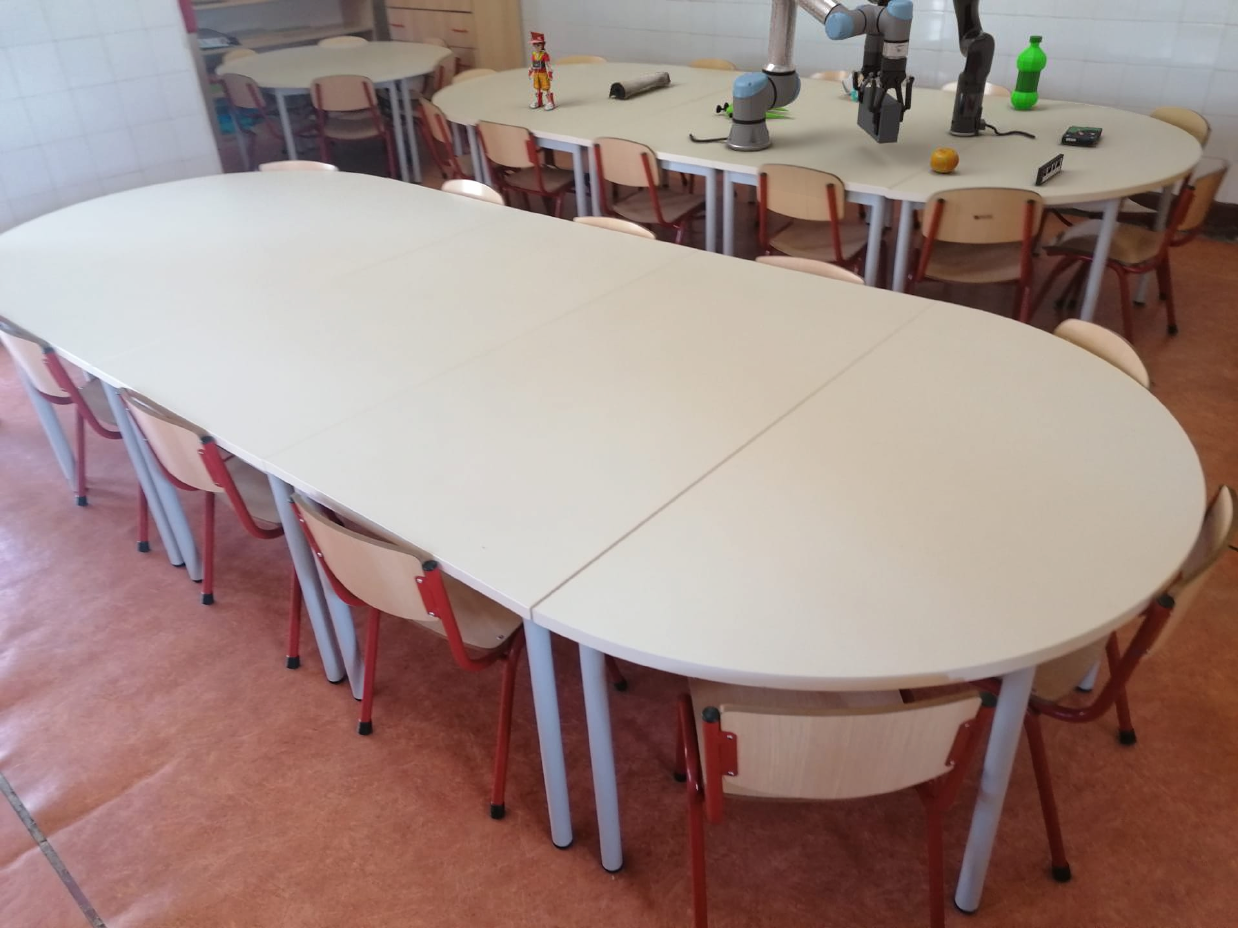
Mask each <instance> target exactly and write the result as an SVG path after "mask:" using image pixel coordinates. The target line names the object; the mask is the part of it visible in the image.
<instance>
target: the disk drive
mask: <svg viewBox="0 0 1238 928" xmlns="http://www.w3.org/2000/svg"><path fill="white" fill-rule="evenodd" d="M1102 132H1103V127H1094V126H1092V127H1091V126H1076V125H1071V126H1069V127H1068V129H1067V130H1066V131H1065V132H1064V134H1063V135H1062V136H1061V142H1060V144H1063V145H1072V146H1080V147H1081V146H1082V147H1094V146H1095V145H1096V143H1097V142H1098V141H1099V139H1100V137H1101V136H1102Z"/></svg>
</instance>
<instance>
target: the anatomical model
mask: <svg viewBox="0 0 1238 928" xmlns="http://www.w3.org/2000/svg"><path fill="white" fill-rule="evenodd" d="M861 81H862V80H858V86H860V84H861ZM841 84H842V88H843V89H844V92H845V93H846V94H849V95H851V97H852V99H853V100H854V101H855V102H858V100H857V99H858V91H856V90H854V89H853V78H852V72H850V73H849V75H848V77H845V78H842V79H841ZM866 87H870V86H869V85H867V86H866Z"/></svg>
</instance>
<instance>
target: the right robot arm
mask: <svg viewBox="0 0 1238 928" xmlns="http://www.w3.org/2000/svg"><path fill="white" fill-rule="evenodd" d="M890 1H892V0H867V2H868V3H870V4H871V5H876V6H884V7H888V3H889V2H890ZM980 2H981V1H980V0H952V5H953V9H954V14H955V18H956V24H957V34H958V46H959V51H960V53H961V55H962V56H963V57H964V58H965V63H964V68H963V70H962V71H961V72H960V73H959V74H958V78H957V83H956V91H955V96H954V104H953V110H952V115H951V120H950V122H951V123H950V129H949V134H950V135H952V136H956V137H973V136H979V131H986V128H989V129H991V130H993V132H994V134H995V135H997V136H1000V137H1003V136H1010V135H1014V134H1015V135H1022V136H1026V137H1028V138H1031V139H1036V135H1034V134H1032V133H1029V132H1027V131H1026V132H1025V131H1021V130H1011V131H1006V132H999V131H998V130H997V128H996V127H995V126H994V125H992V124H988V123H987V122H986V120H985V118H982V115H983V109H984V107H983V102H984V96H985V90H986V83H987V79H988V77H989V75H990V73H991V69H992V65H993V61H994V55H995V49H996V41H995V38H994V36H993V34H991V33H988V32H987V31H984V29H983V27H982V23H981V19H980V11H979V9H980V8H979V7H980ZM884 36H885V34H880V33H867V34H865V39H864V45H863V57H862V67H861V69H859V70H853V71H852V72H851V73H852V78H853V89H854V90H856V91H858V99H857V100H858V101H857V102H858V104H859V103H860V104H862V103H863V94H864V92H863V91H864V89H865V87H866V86H868V85H869V84H870V79H871V78H876V77H879V74H880V72H881V64H882V58H883V57H884V56H883V46H884ZM861 75H862V79H861V80H860V81H861V82H860V84H859V85H858V81H859V78H860V77H861ZM881 86H882V83H881V82H880V81H879V82H878V87H880V88H881Z"/></svg>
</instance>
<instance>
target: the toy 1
mask: <svg viewBox="0 0 1238 928" xmlns="http://www.w3.org/2000/svg"><path fill="white" fill-rule="evenodd" d="M529 33H530V35H531V36H528V37H527V38H528V39H529V40H528V41H527V43H529V44H530V43H531V44H532V48H533V50H534V51H533V52H532V55H531V58H530V59H531V63H530V66H528V74H527V75H528V76H527V77H528V79H529V80H531V75H532V74H533V84H532V85H533V86H532V87H533V88H534V89H535V90H536V92H534V95H535V97H536V100H535V101H533V102H531V105H530V108H531V109H535V108H538V107H542V106H544V101H543V100H544V99H543V95H544V92H546V94H545V97H546V99H547V103H546V104H545V106H544V110H546V111H549V110H553V109H554V107H555V106H556V105H555V99H554V92H551V91H550V90H551V86H552V84H551V82H552V81H553V80H554V77H553V73H554V71H555V70H554V69H552V68H551V63H550V61H551V59H550V58H551V57H550V54H549V53H548V52H547V50H546V48H545V46H546V44H547V41H545V35H544V33H543V32H542V33H539V32H535V31H529Z"/></svg>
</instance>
